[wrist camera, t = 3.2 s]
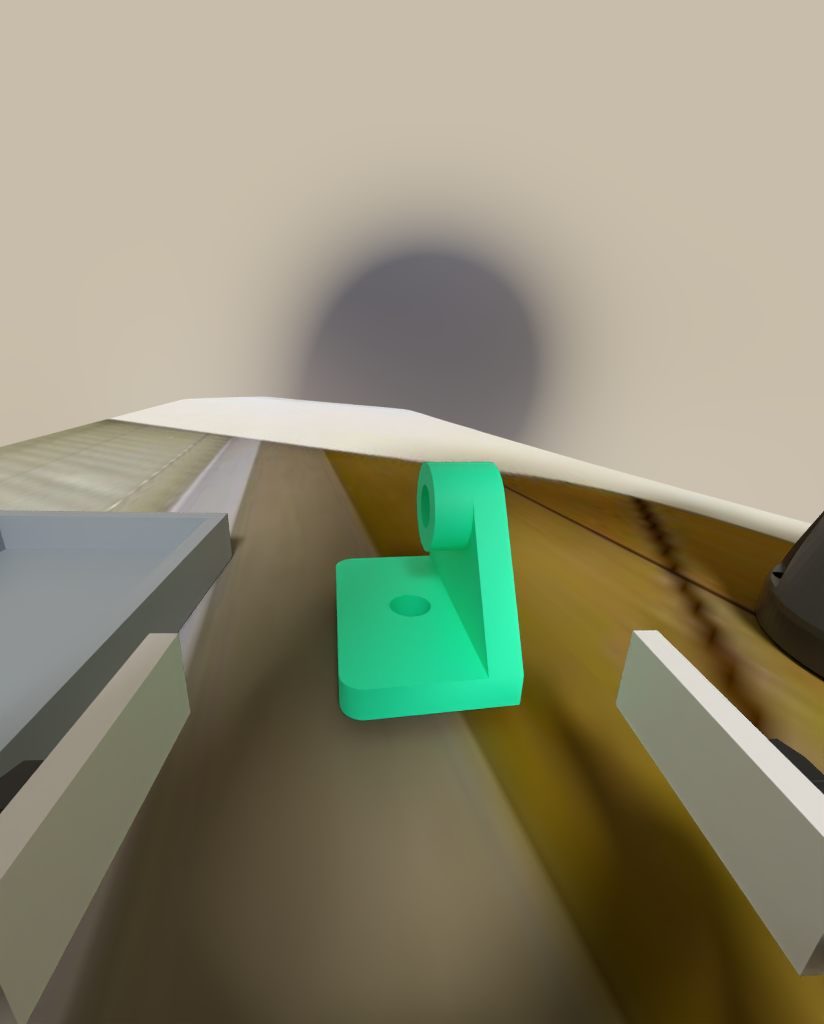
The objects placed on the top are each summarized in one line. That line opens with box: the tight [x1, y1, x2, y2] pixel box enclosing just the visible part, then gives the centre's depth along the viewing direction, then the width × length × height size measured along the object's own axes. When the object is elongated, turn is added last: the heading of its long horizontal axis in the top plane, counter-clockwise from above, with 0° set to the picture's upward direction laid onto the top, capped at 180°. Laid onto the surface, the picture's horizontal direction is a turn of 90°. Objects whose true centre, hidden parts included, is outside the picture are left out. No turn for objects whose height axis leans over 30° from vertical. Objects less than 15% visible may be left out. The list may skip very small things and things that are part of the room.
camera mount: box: [336, 462, 524, 720], centre depth 23 cm, size 12×8×10 cm, turn 10°
